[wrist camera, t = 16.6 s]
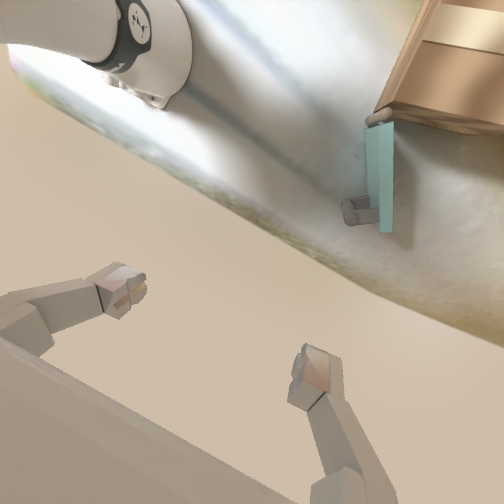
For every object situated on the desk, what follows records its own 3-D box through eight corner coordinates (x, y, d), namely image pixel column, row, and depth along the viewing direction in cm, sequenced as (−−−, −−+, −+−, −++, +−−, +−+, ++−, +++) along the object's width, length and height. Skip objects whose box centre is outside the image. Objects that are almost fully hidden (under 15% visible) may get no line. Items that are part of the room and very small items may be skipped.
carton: (373, 112, 32) (393, 99, 22) (423, 1, 26) (484, -88, 16) (468, 135, 30) (539, 132, 20) (549, 20, 24) (714, -70, 14)
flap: (333, 128, 34) (336, 123, 25) (374, 115, 32) (393, 104, 23) (342, 215, 41) (346, 237, 31) (377, 209, 38) (392, 232, 29)
